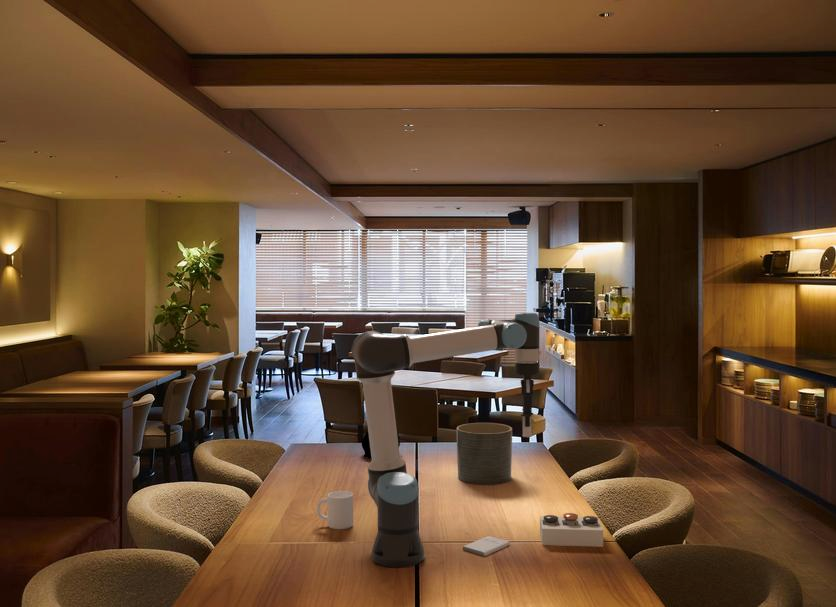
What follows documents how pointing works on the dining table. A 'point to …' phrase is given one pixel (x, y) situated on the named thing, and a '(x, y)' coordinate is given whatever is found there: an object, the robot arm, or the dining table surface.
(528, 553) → the dining table surface
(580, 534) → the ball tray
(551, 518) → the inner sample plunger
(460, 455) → the planter
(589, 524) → the plunger
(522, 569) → the dining table surface
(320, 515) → the mug
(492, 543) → the external hard drive
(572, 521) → the plunger
